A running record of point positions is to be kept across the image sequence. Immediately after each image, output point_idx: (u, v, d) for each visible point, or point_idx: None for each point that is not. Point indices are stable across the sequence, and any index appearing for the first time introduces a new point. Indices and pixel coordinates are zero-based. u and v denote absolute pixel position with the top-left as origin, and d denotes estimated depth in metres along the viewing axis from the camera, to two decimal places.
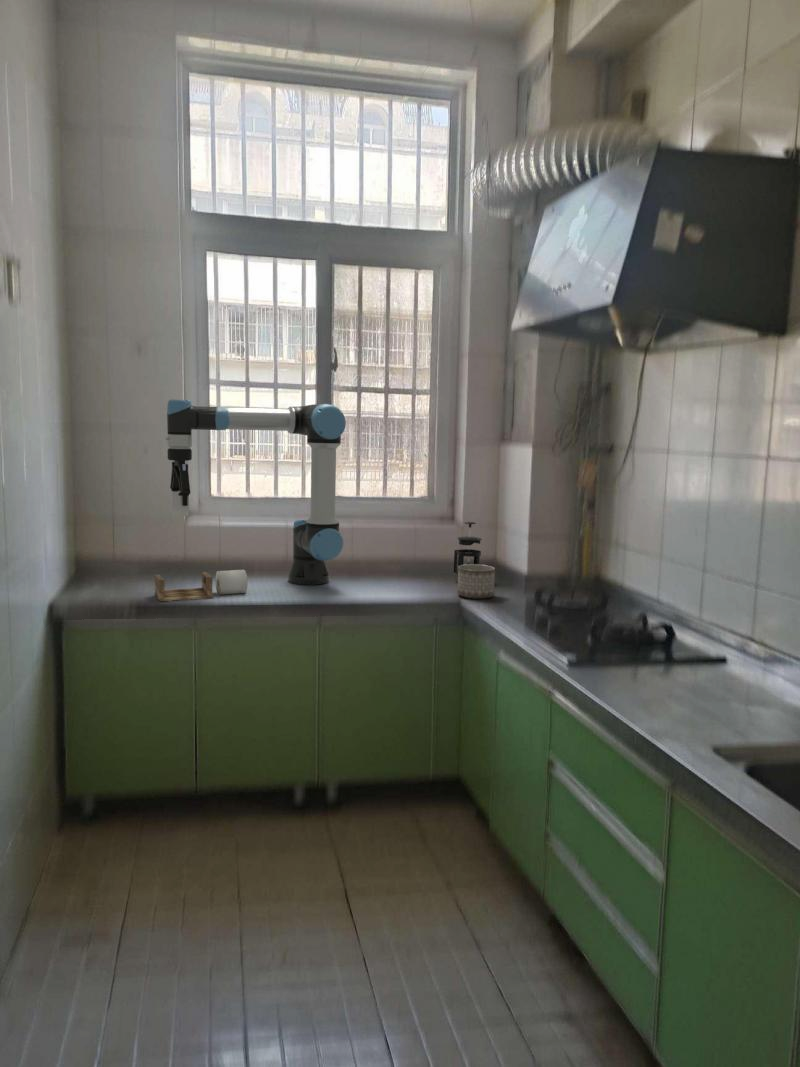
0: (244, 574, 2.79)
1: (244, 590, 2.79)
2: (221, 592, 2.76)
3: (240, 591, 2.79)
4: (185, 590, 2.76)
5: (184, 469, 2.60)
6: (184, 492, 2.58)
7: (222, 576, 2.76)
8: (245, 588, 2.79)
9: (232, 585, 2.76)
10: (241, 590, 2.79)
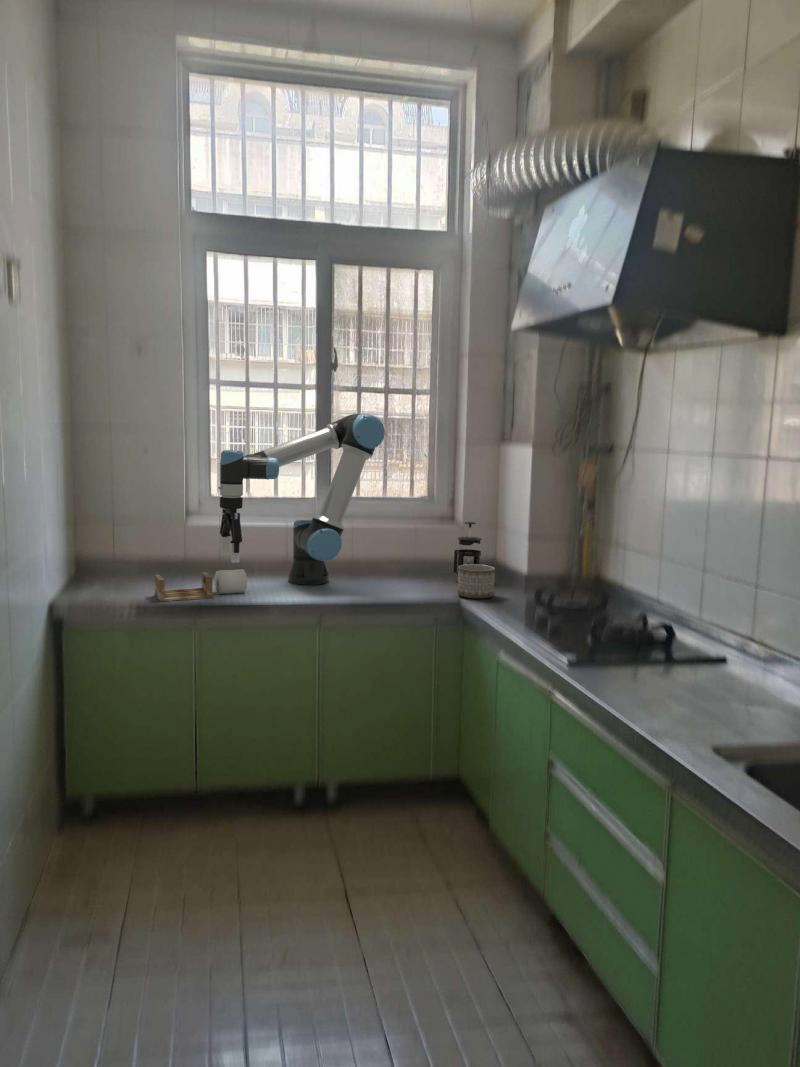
0: (243, 572, 2.80)
1: (244, 588, 2.79)
2: (221, 590, 2.76)
3: (240, 589, 2.79)
4: (185, 590, 2.76)
5: (236, 518, 2.71)
6: (236, 540, 2.68)
7: (221, 573, 2.77)
8: (245, 586, 2.79)
9: (231, 582, 2.77)
10: (241, 588, 2.79)
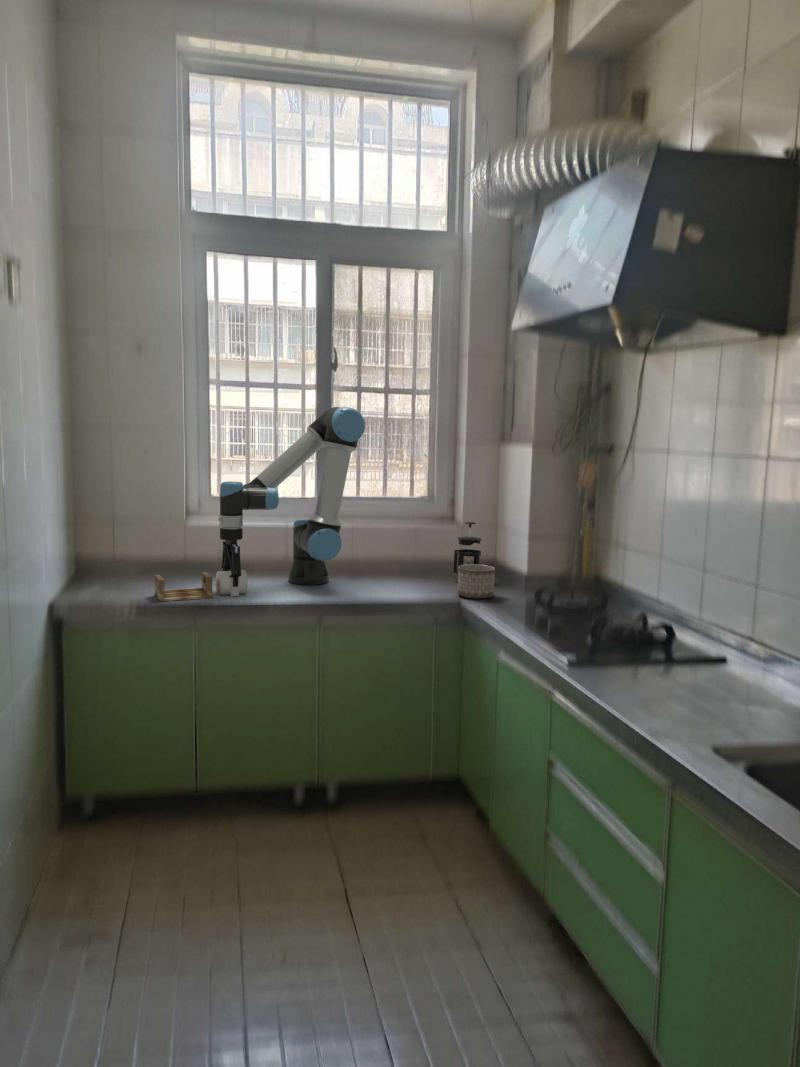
0: (244, 575, 2.78)
1: (244, 591, 2.79)
2: (221, 593, 2.76)
3: (240, 592, 2.79)
4: (185, 590, 2.76)
5: (236, 551, 2.72)
6: (235, 574, 2.72)
7: (223, 577, 2.75)
8: (245, 589, 2.79)
9: None
10: (241, 591, 2.78)
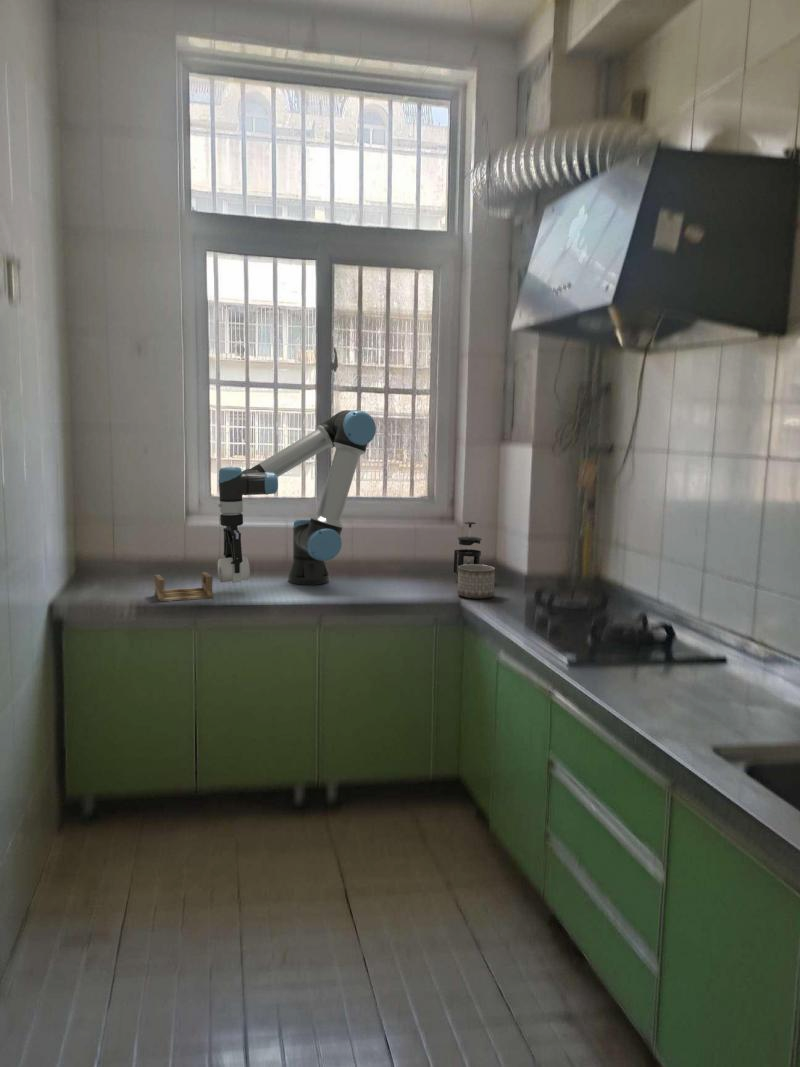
0: (246, 561, 2.78)
1: (246, 577, 2.79)
2: (223, 579, 2.76)
3: (242, 578, 2.79)
4: (185, 590, 2.76)
5: (237, 538, 2.72)
6: (236, 561, 2.72)
7: (224, 563, 2.75)
8: (247, 575, 2.78)
9: None
10: (243, 577, 2.78)
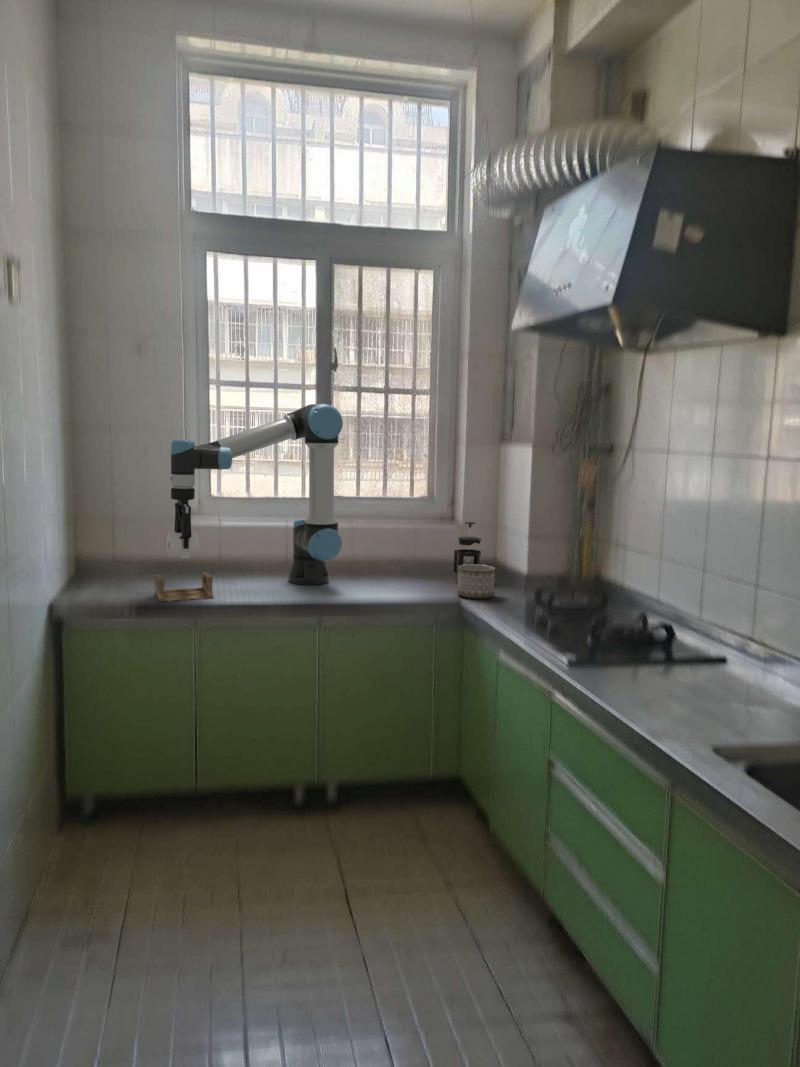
0: (196, 536, 2.70)
1: (196, 553, 2.70)
2: (171, 554, 2.67)
3: (192, 554, 2.70)
4: (185, 590, 2.76)
5: (187, 512, 2.64)
6: (185, 536, 2.63)
7: (173, 537, 2.67)
8: (197, 551, 2.70)
9: None
10: (193, 553, 2.70)
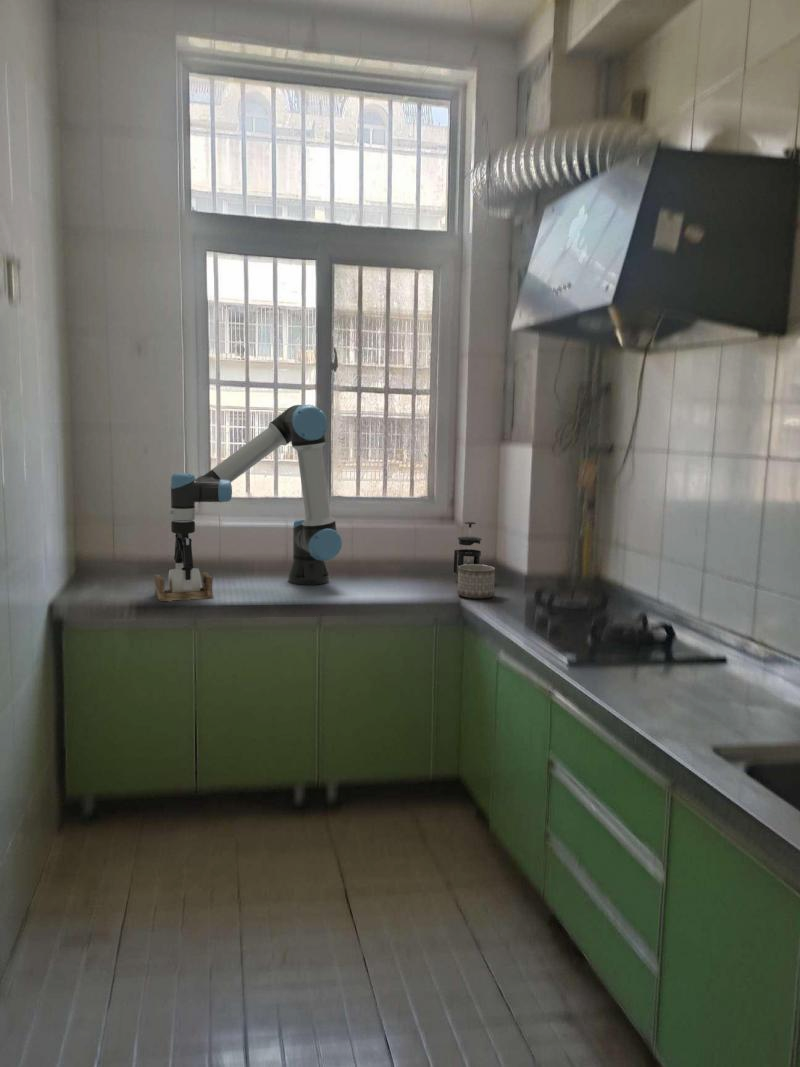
0: (197, 572, 2.72)
1: (197, 589, 2.72)
2: (173, 591, 2.69)
3: (193, 590, 2.72)
4: None
5: (187, 544, 2.65)
6: (187, 567, 2.63)
7: (175, 574, 2.69)
8: (198, 587, 2.72)
9: None
10: (194, 589, 2.72)
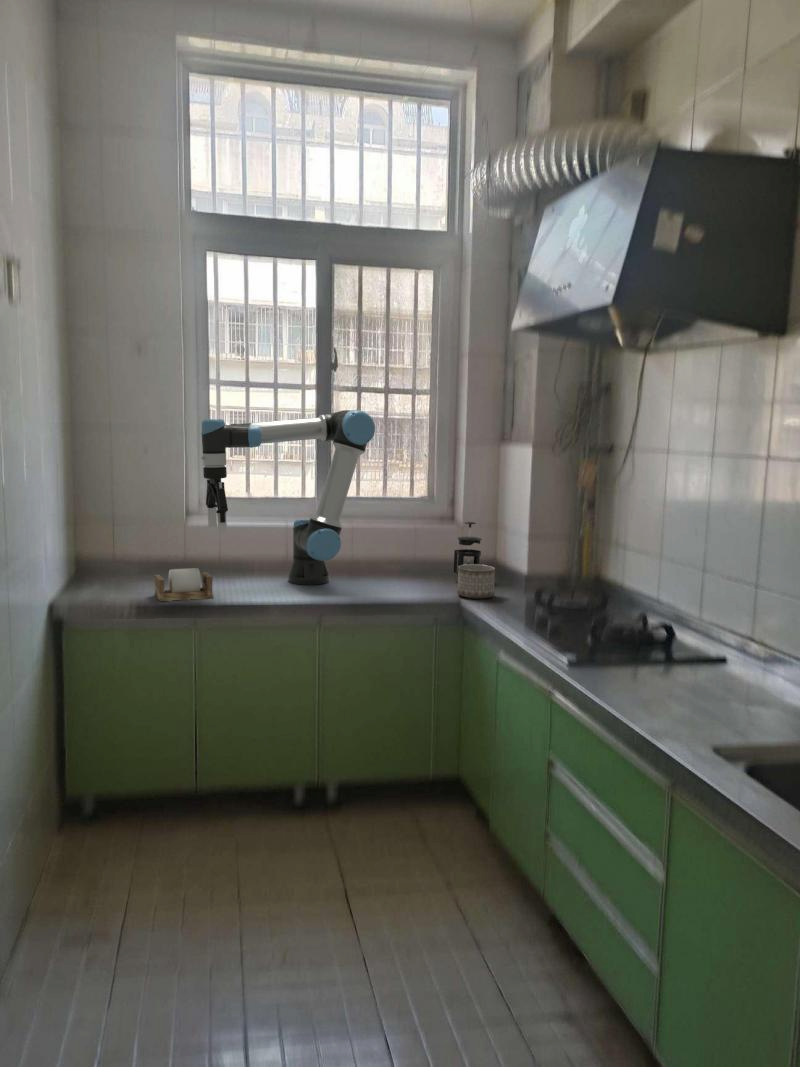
0: (197, 572, 2.72)
1: (197, 589, 2.72)
2: (173, 591, 2.69)
3: (193, 590, 2.72)
4: None
5: (221, 487, 2.68)
6: (222, 509, 2.66)
7: (175, 574, 2.69)
8: (198, 587, 2.72)
9: (184, 584, 2.69)
10: (194, 589, 2.72)
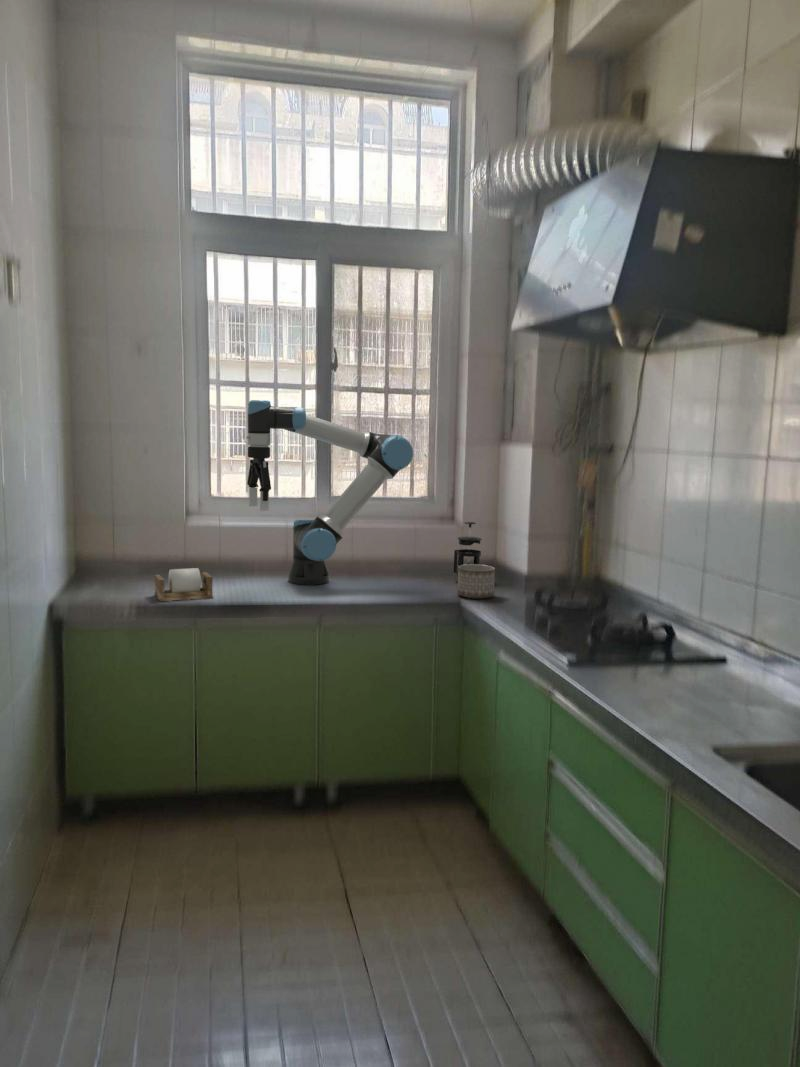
0: (197, 572, 2.72)
1: (197, 589, 2.72)
2: (173, 591, 2.69)
3: (193, 590, 2.72)
4: None
5: (265, 466, 2.74)
6: (265, 488, 2.72)
7: (175, 574, 2.69)
8: (198, 587, 2.72)
9: (184, 584, 2.69)
10: (194, 589, 2.72)
